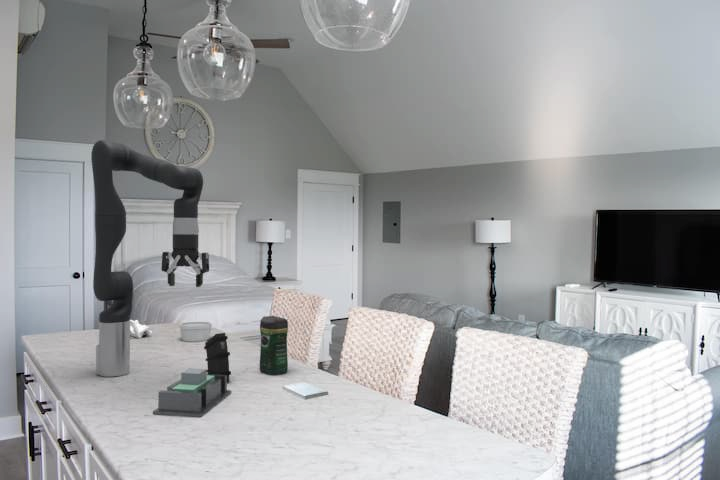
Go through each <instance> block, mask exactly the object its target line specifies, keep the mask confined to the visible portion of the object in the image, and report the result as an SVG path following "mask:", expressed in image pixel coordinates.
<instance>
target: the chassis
mask: <svg viewBox="0 0 720 480" xmlns="http://www.w3.org/2000/svg"><path fill="white" fill-rule="evenodd" d="M207 375H210V376H215V380H213V381H212V382H210V383H209V384H208V385H206V386H205V387H203V388H202V389H201V392H182V391H172V388H173V387H175V386H177V385H178V384H180V383H181V378H180V379H178V380H177V381H175V382H173V383H171V384H170V385H168V386H166V390H160V391H158V407H157V408H155V409H154V410H153V411H152V415H157V416H158V415H163V416H173V417H175V416H176V417H177V416H179V417H192V418H202V417H203V416H205V414H207V413H208V412H209V411H210V410H212V409H214V408H215V407H216V406H217V405H218V404H219V403H221V402H222V401H223V400H225V399H226V398H227V397H228V396H230V395H231V394H232V390H231V389H228V383H227V375H218V374H208V373H207Z"/></svg>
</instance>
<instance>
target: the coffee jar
mask: <svg viewBox="0 0 720 480" xmlns="http://www.w3.org/2000/svg"><path fill="white" fill-rule="evenodd" d="M259 331H260V353H259V354H260V355H259V371H260V372H262V373H265V374H267V375H283V374H284V373H286V372H288V366H289V365H288V362H289V359H288V331H289V321H288V320H287V319H286V318H285V317H280V316H274V315H268V316H263V317H261V319H260V323H259Z"/></svg>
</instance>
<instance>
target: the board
mask: <svg viewBox="0 0 720 480" xmlns="http://www.w3.org/2000/svg"><path fill="white" fill-rule="evenodd" d="M207 370H208V368H192V367H191V368H190V367H189V368H188V369H186V370H183V371H182V372H181V373H180V374H181V375H180V376H181V377H180V379H181V383H180V384H178V385H177V386H175V387H173V388H172V391H182V392H201V389H202V388H203V387H205V386H206V385H208V384H209V383H210V382H212V381H213V380H215V376H210V375H207V374H208V372H207Z"/></svg>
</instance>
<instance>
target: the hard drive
mask: <svg viewBox="0 0 720 480" xmlns="http://www.w3.org/2000/svg"><path fill="white" fill-rule="evenodd" d="M282 390H283V391H286V392H287V393H290V394H292V395H294V396H296V397H298V398H301V399H302V400H309V399H312V398H313V399H315V398H318V397H323V396H328V395H329V391H327V390H324V389H323V388H320V387H318V386H316V385H313V384H311V383H308V382H305V381H301V382H300V381H299V382H296V383H291V384H285V385H282Z"/></svg>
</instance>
